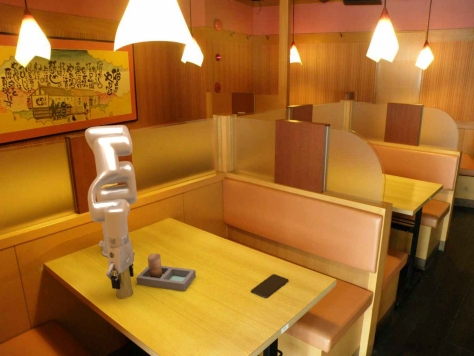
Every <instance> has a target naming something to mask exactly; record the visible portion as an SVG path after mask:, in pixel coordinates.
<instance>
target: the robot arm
mask: <svg viewBox="0 0 474 356" xmlns="http://www.w3.org/2000/svg"><path fill="white" fill-rule="evenodd" d="M84 136H85V141H86V143H87V144H88V146H89V148H90V149H91V150H92V152H93V155H94V162H95V169H96V177H95V179H94V180H93V181H92V183H91V184H90V186H89V189H88V191H87V204H88V212H89V217H90V219H91V221H93V222H94V223H101V226H102V235H103V240H99V242H98V247H101V248H102V251H101V252H102V253H101V254H102V255H103V256H104V257H107V264H108V269H107V271H106V272H105V275H106V277H107V278H108V279H109V280H110V282H111V289H113V290H116V289H120V288H121V287H120V279H118V278H119V273H122V272H124V271H125V270H126V269H127V268H128V267H129V272H130V277H131V278H133V277H134V276H135V274H134V262H135V252H134V249H133V245H132V242H131V239H130V235H129V234H130V233H129V227H128V216H129V214H130V213H131V208H130V207H131V206H130V205H134V204H136V203H137V200H138V191H137V180H136V173H135V167H134V165H133V163H132V162H131V161H127V160H123V161H119V157H125V156H126V157H127V156H130V155H132V153H133V148H134V147H133V140H132V136H131V134H130V130H129V128H128V127H127V126H126V125H124V124H117V125H102V126H101V125H100V126H92V127H89V128H87V129H86V130H85V131H84ZM122 183H123V184H122ZM113 184H119V185H113ZM105 185H108V186H105ZM115 269H116V271H114V270H115ZM115 273H116V276H115Z"/></svg>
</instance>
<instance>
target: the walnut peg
mask: <svg viewBox="0 0 474 356" xmlns="http://www.w3.org/2000/svg"><path fill="white" fill-rule="evenodd" d="M147 265H148V266H147V267H149V276H148V277H153V278H161V277H162V276H163V274H162V268H161V266H162V258H161V254H159V253H151V254H149V255H148V256H147Z"/></svg>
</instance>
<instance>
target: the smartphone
mask: <svg viewBox="0 0 474 356" xmlns="http://www.w3.org/2000/svg"><path fill="white" fill-rule="evenodd" d="M289 281H290V280H289V278H287V277H283V276H281V275H278V274H276V273H274V274H273V273H272V274H271V275H269V276H268V277H267V278H265V279H264V280H262V281H261V282H260V283H259V284H257V285H256V286H254V287H253V288H252V289H251V290H250V293H251V294H254V295H256V296H258V297H261V298H263V299H268V298H270V297H271V296H272V295H274V294H275V293H276V292H277V291H279V290H280V289H281V288H283V286H286V284H287V283H288V282H289Z"/></svg>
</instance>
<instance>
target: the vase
mask: <svg viewBox="0 0 474 356" xmlns="http://www.w3.org/2000/svg"><path fill="white" fill-rule="evenodd" d="M114 271H116V269H115V270H114ZM114 276H116V273H114ZM131 278H132V277H130V272H129V267H128V268H127V269H126V270H125V271H124V272H122V273H119V278H118V279H120V287H121V288H120V289H115V290H116V297H117V298H118V299H121V300H122V299H128V298H130V297H131V296H132V295H134V291H133V285H132V279H131Z"/></svg>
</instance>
